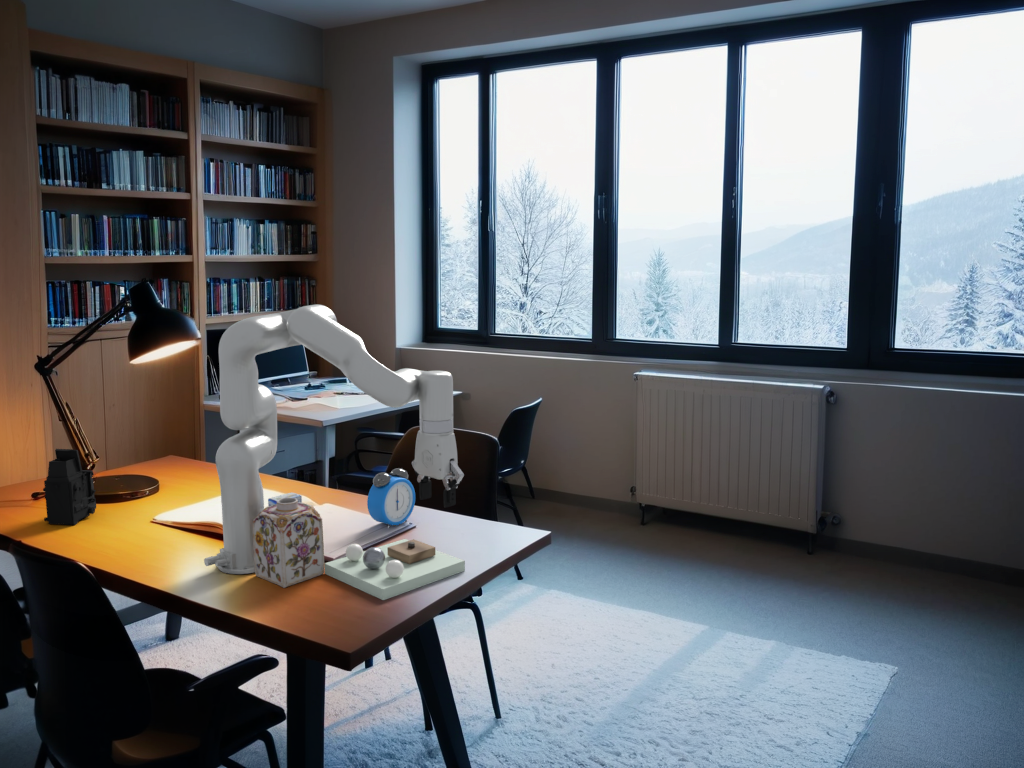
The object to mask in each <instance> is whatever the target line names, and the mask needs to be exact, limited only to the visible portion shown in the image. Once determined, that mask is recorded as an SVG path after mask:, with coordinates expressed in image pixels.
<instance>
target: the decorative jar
mask: <svg viewBox="0 0 1024 768" xmlns="http://www.w3.org/2000/svg"><path fill="white" fill-rule="evenodd" d="M323 526H324V525H323V518H322V516H321V514H320V513H319V512H318V511H317V510H316V508H315V507H314V506H313V505H312V504H308V503H304V502H302V503H298V500H297V499H296V498H281V499H279V500H277V504H275V505H272V506H268V505H267V506H265V507H264V510H263V511H261V512H260V513H259V514H258V516H257V517H256V518H255V519H254V520H253V543H254V565H255V572H254V573H255V576H256V577H258V578H260V579H262V580H264V581H265V580H266V581H268V582H269V583H272V584H274V585H277V586H279V587H281V588H283V589H285V588H287V587H290V586H295V585H296V584H298V583H299V584H300V583H302V582H305V581H308V580H311V579H314V578H317V577H319V576H321V575H322V576H323V575H325V568H324V563H325V549H324V547H325V546H324V545H325V544H324V529H323V528H324V527H323Z"/></svg>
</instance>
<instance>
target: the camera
mask: <svg viewBox="0 0 1024 768" xmlns="http://www.w3.org/2000/svg"><path fill="white" fill-rule="evenodd" d="M54 453H55V457H56V458H55V459H54V460H53V459H52V460H49V461H48V468H47V469H48V471H47V476H46V478H45V480H44V481H43V482H44V483H43V484H44V487H43V488H42V491H43V492H44V499H45V506H46V507H45V508H46V509H45V510H46V516H47V517H44V518H43V521H44V522H47V523H48V524H49V525H64V526H65V525H67V526H76V525H78V522H81V520H84V519H85V518H87V517H89V516H90V515H94V514H95V511H96V509H97V502H96V497H95V493H96V489H95V487H94V485H95V484H94V478H95V476H94V471H93V470H83V468H82V465H81V459H80V455H79V451H78V449H71V448H68V449H66V448H55V450H54Z"/></svg>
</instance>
